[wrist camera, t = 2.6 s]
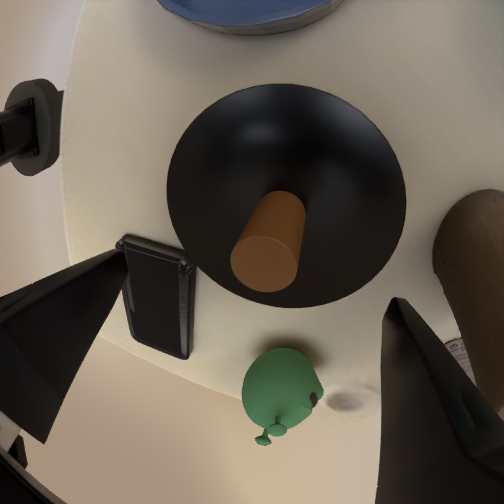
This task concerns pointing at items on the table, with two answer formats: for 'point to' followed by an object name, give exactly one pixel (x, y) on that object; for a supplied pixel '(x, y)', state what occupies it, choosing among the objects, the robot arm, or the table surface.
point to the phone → (159, 295)
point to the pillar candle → (476, 285)
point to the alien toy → (280, 391)
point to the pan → (251, 14)
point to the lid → (286, 195)
